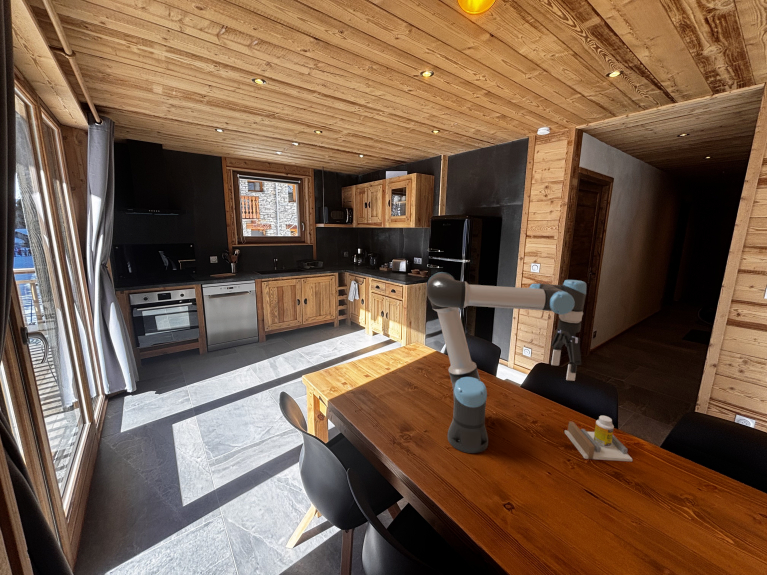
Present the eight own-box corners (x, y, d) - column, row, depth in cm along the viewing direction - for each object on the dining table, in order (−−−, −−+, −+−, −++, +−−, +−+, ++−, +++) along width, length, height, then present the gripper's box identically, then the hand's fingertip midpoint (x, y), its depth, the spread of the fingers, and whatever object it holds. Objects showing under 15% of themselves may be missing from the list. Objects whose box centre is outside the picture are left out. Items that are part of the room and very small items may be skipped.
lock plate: (584, 458, 113) (586, 446, 112) (564, 432, 128) (565, 421, 127) (632, 461, 112) (634, 448, 111) (606, 434, 126) (607, 423, 126)
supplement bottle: (607, 449, 116) (610, 424, 114) (590, 441, 121) (593, 417, 119) (613, 444, 119) (617, 419, 117) (597, 436, 124) (600, 412, 122)
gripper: (598, 330, 109) (588, 388, 113) (565, 312, 133) (558, 360, 137) (575, 329, 110) (566, 386, 114) (546, 311, 134) (540, 358, 138)
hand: (562, 372), depth 125 cm, fingers open, 13 cm apart
